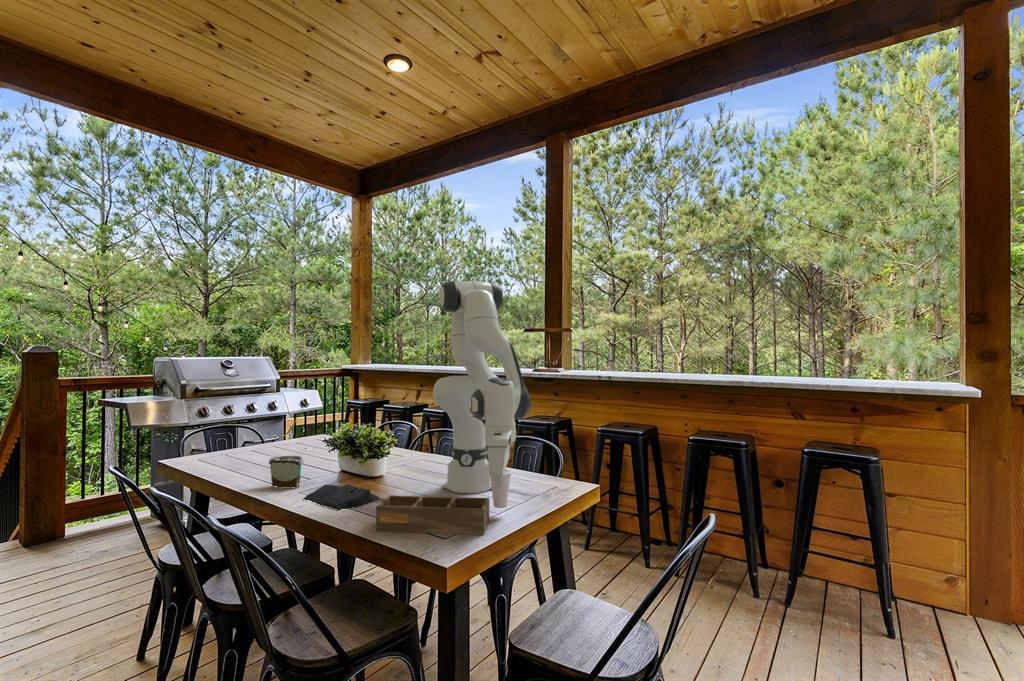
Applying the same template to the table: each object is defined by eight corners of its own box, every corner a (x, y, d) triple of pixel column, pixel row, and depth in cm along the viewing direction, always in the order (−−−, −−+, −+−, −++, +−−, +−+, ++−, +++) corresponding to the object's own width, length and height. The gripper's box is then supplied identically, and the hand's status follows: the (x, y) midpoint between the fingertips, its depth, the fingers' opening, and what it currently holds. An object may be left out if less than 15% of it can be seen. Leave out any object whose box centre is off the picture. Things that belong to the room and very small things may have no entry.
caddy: (388, 518, 141) (388, 495, 141) (489, 521, 138) (489, 498, 139) (375, 531, 131) (375, 506, 131) (483, 535, 128) (483, 509, 128)
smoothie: (510, 502, 146) (510, 454, 146) (511, 509, 139) (511, 459, 140) (489, 502, 146) (489, 454, 146) (489, 509, 139) (489, 459, 139)
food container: (310, 484, 178) (310, 456, 178) (300, 488, 172) (300, 459, 172) (279, 482, 180) (279, 454, 180) (268, 487, 174) (268, 458, 174)
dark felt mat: (339, 490, 172) (339, 476, 172) (382, 501, 159) (382, 486, 159) (298, 501, 159) (298, 486, 159) (342, 513, 147) (342, 497, 147)
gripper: (493, 428, 153) (493, 473, 153) (484, 441, 133) (484, 492, 133) (514, 429, 153) (514, 474, 153) (507, 441, 132) (507, 493, 132)
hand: (500, 483), depth 142 cm, fingers closed on smoothie, 6 cm apart
